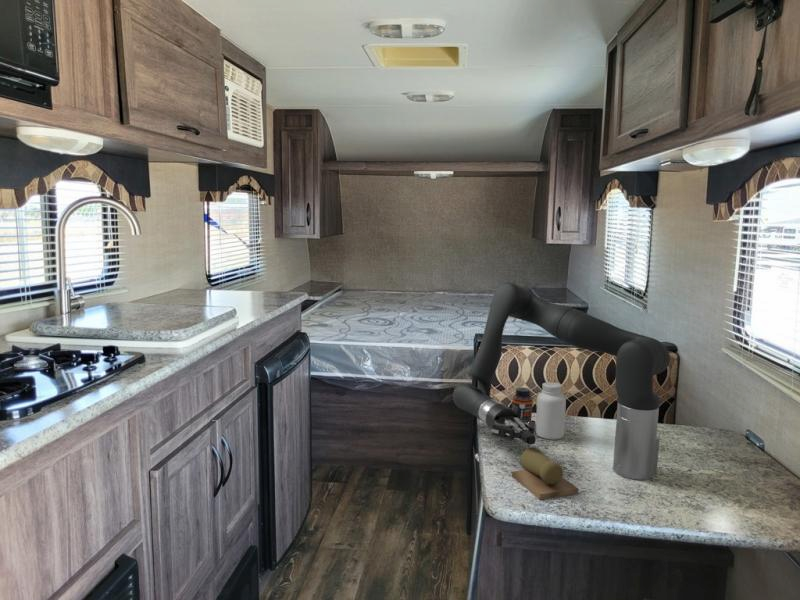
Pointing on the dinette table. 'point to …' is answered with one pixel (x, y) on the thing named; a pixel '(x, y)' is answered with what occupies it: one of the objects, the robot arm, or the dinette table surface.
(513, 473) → the walnut board
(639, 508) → the dinette table surface
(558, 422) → the pill bottle
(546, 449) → the dinette table surface
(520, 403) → the supplement bottle
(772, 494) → the dinette table surface
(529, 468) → the cork
